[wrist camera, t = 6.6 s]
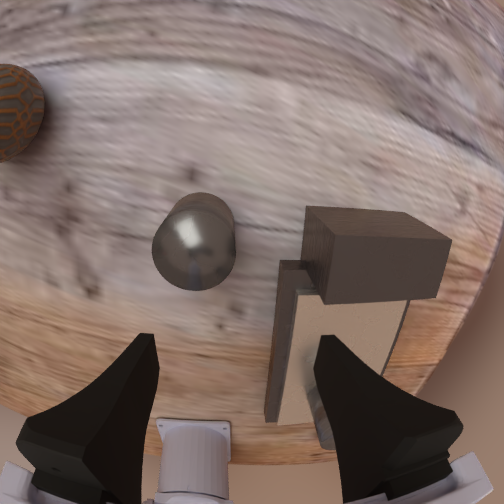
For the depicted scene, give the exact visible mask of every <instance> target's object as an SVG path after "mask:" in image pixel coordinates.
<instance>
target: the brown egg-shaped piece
mask: <svg viewBox="0 0 504 504" xmlns="http://www.w3.org/2000/svg"><path fill="white" fill-rule="evenodd" d="M44 106H45V103H44V94H43V90H42V87H41V85H40V83H39V82H38V80H37V79H36V78H35V76H34V75H33V74H31V73H30V72H29V71H27V70H26V69H24V68H22V67H19V66H16V65H12V64H0V163H2V162H4V161H7V160H9V159H11V158H13V157H14V156H16V155H17V154H19V153H20V152H21V151H23V150H24V149H25V148H26V147H27V146H28V145H29V144H30V142H31V141H32V140H33V138H34V137H35V135H36V134H37V132H38V130H39V127H40V125H41V122H42V119H43V115H44Z"/></svg>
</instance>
